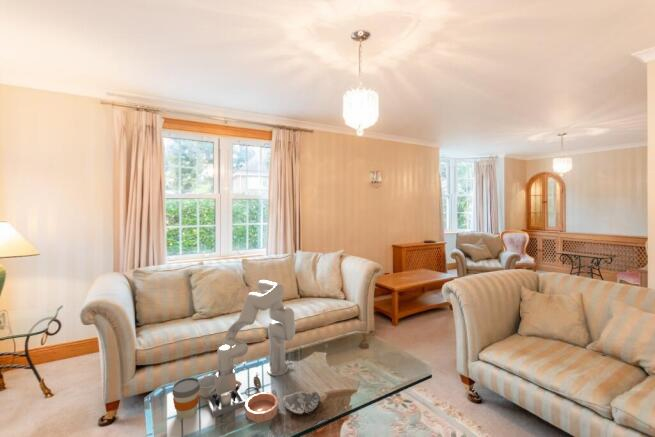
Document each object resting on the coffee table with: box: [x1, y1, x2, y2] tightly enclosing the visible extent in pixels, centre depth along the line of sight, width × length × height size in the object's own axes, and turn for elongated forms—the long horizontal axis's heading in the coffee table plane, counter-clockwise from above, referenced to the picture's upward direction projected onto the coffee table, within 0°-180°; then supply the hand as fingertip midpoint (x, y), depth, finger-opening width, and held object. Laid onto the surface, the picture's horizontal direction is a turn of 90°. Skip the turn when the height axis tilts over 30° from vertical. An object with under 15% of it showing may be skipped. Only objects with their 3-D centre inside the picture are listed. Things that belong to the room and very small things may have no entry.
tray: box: [206, 389, 246, 418], centre depth 166 cm, size 16×13×3 cm
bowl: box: [244, 392, 279, 423], centre depth 162 cm, size 16×16×4 cm
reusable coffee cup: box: [171, 377, 200, 420], centre depth 159 cm, size 13×13×15 cm
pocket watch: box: [244, 372, 262, 396], centre depth 177 cm, size 8×8×10 cm
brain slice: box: [282, 390, 321, 415], centre depth 166 cm, size 20×17×3 cm
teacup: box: [199, 374, 216, 399], centre depth 175 cm, size 14×11×8 cm
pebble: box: [221, 392, 231, 407], centre depth 166 cm, size 5×5×5 cm
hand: (225, 402), depth 166 cm, fingers open, 7 cm apart
